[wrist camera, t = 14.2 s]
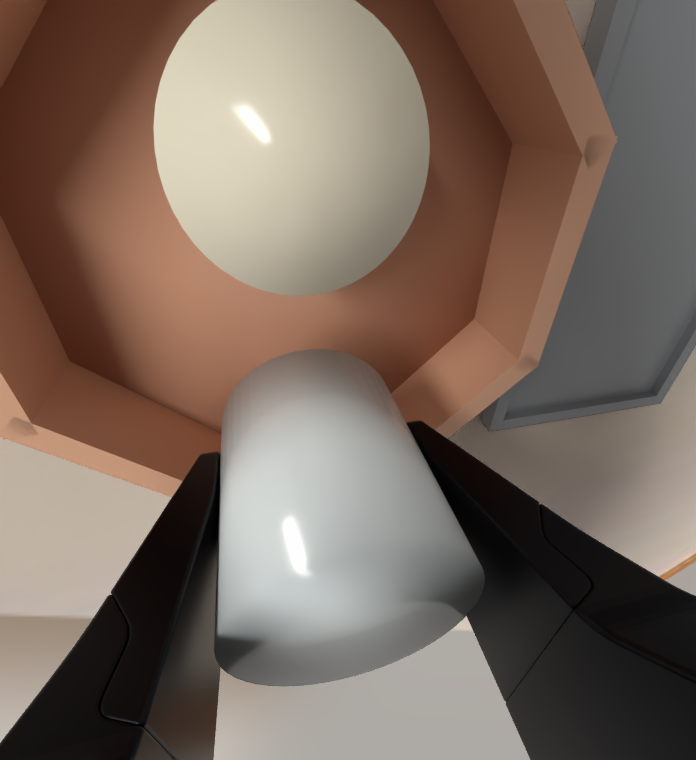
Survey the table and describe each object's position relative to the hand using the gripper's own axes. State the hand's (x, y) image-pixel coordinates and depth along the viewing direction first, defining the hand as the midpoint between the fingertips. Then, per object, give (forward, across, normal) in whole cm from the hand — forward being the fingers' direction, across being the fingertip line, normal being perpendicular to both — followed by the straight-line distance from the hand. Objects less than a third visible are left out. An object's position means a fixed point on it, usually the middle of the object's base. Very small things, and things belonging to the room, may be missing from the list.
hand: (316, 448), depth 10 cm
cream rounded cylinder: (+5, 0, -6) cm, 8 cm away
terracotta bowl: (+6, 0, -3) cm, 7 cm away
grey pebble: (+1, 0, 0) cm, 1 cm away
